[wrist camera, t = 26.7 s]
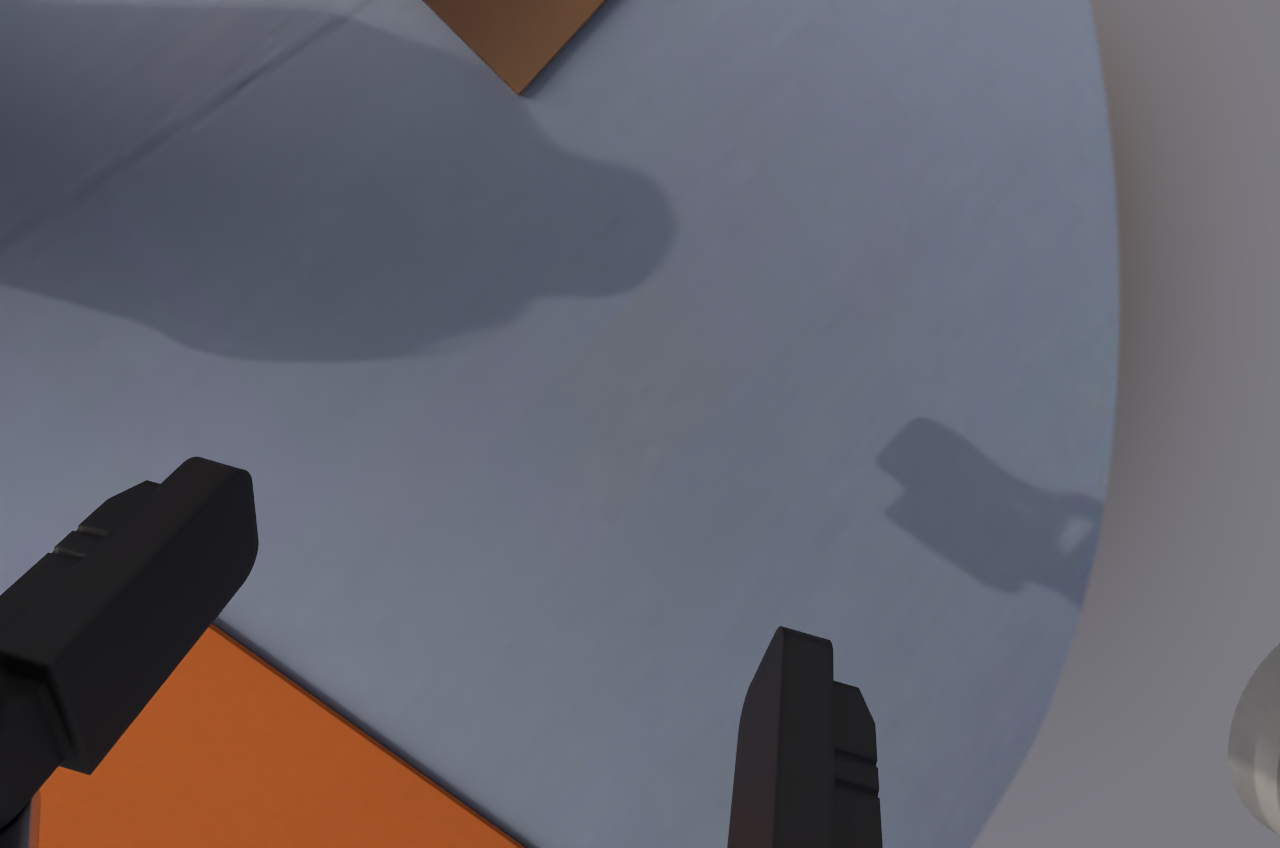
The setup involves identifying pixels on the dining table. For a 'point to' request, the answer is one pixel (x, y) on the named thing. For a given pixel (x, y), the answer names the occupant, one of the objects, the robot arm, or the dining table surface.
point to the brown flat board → (516, 32)
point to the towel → (250, 773)
